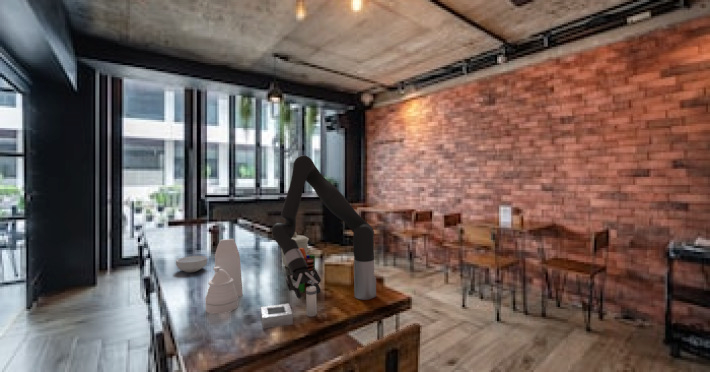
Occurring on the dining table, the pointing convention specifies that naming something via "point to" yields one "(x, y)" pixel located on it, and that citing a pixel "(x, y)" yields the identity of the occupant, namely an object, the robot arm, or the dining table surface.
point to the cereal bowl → (191, 263)
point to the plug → (311, 301)
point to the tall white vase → (230, 262)
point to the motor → (311, 266)
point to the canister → (301, 243)
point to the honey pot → (221, 293)
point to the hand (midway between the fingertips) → (309, 295)
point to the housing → (276, 315)
